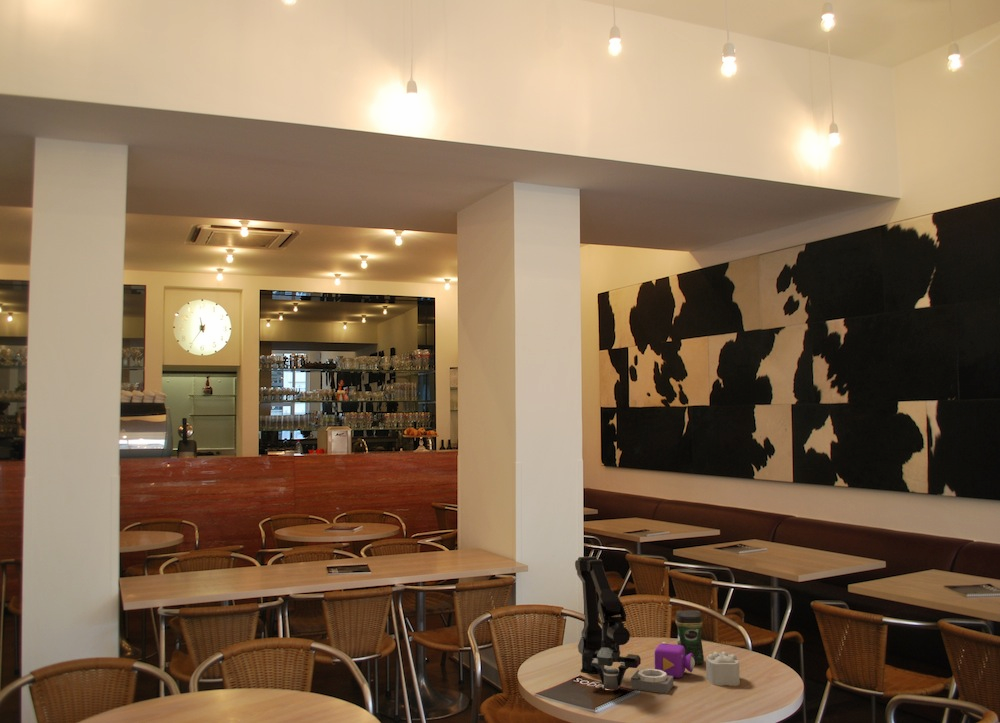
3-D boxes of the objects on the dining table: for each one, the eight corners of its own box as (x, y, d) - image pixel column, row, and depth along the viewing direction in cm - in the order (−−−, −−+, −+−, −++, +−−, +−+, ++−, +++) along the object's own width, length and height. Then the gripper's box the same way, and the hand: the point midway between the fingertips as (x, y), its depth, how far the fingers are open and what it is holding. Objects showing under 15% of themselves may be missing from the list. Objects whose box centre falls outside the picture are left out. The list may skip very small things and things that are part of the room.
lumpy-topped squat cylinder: (710, 685, 277) (710, 659, 278) (703, 673, 290) (702, 648, 291) (742, 686, 277) (741, 659, 277) (733, 673, 290) (732, 648, 290)
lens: (601, 690, 274) (601, 671, 274) (606, 685, 278) (605, 666, 279) (616, 692, 271) (616, 673, 272) (621, 687, 276) (620, 668, 276)
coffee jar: (701, 659, 307) (699, 608, 308) (705, 665, 299) (704, 613, 300) (674, 659, 307) (673, 608, 308) (678, 665, 299) (677, 613, 300)
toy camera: (695, 680, 283) (694, 650, 283) (654, 678, 285) (654, 648, 286) (694, 670, 293) (694, 642, 294) (655, 668, 296) (654, 640, 296)
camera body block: (631, 688, 275) (630, 674, 275) (638, 680, 283) (638, 667, 283) (667, 693, 270) (666, 679, 270) (673, 685, 278) (673, 671, 278)
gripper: (576, 640, 272) (576, 688, 271) (631, 646, 265) (632, 696, 264) (586, 631, 282) (587, 678, 282) (640, 637, 275) (641, 685, 274)
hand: (611, 684), depth 275 cm, fingers closed on lens, 5 cm apart
